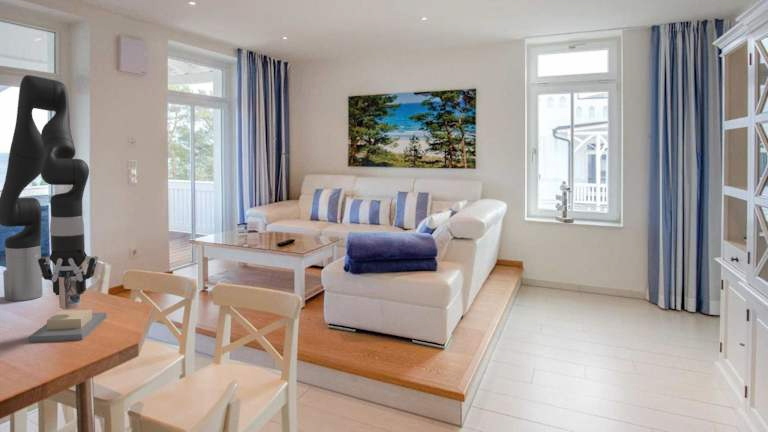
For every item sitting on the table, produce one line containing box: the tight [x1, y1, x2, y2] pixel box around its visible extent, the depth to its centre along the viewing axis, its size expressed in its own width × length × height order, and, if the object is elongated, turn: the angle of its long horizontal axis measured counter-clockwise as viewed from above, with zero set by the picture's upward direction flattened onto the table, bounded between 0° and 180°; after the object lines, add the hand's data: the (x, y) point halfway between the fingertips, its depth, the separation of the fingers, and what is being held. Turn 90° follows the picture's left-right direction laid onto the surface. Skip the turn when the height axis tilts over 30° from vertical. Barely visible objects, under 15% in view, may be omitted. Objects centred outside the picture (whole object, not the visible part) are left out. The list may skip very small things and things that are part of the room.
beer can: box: [58, 266, 82, 311], centre depth 126 cm, size 5×5×12 cm
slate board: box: [28, 309, 107, 343], centre depth 127 cm, size 12×18×4 cm, turn 14°
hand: (69, 293), depth 126 cm, fingers closed on beer can, 4 cm apart
